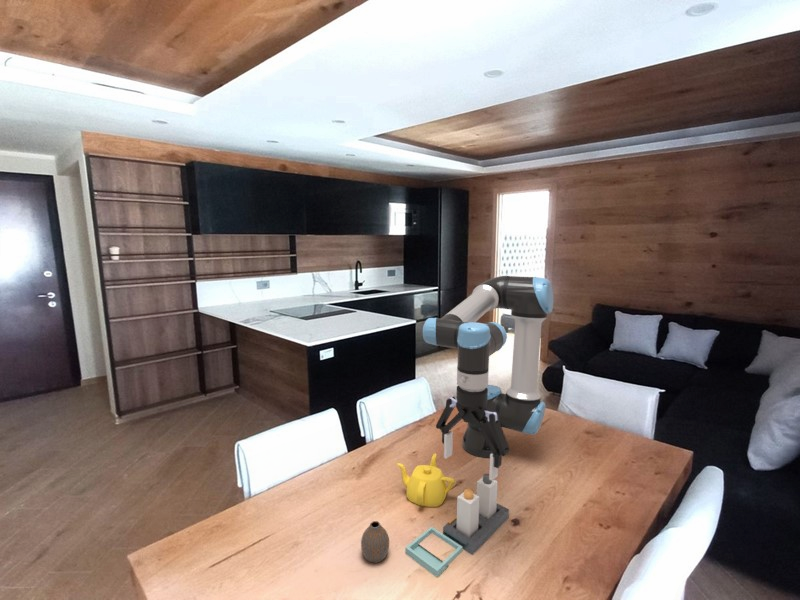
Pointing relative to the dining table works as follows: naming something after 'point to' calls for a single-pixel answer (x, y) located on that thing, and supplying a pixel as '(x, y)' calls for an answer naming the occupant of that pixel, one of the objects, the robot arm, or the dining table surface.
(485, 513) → the twin plug
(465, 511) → the plug
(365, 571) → the dining table surface
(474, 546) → the grey socket base
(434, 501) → the teapot
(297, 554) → the dining table surface
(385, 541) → the vase
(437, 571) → the tray
